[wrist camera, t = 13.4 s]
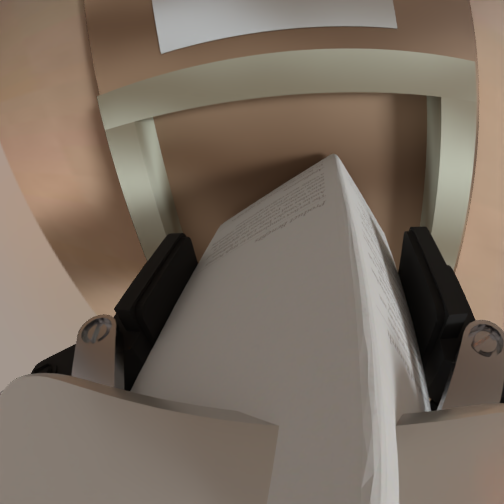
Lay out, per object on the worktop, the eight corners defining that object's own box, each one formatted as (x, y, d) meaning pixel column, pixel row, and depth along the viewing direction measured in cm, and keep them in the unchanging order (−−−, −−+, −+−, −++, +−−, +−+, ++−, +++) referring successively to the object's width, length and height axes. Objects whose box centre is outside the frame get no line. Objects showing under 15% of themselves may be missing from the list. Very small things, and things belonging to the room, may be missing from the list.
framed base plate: (100, -16, 9) (60, -22, 6) (437, -59, 5) (462, -80, 3) (186, 314, 20) (170, 348, 18) (429, 314, 16) (440, 351, 14)
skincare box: (276, 286, 15) (213, 550, 5) (215, 218, 14) (68, 503, 4) (390, 227, 12) (442, 557, 2) (335, 139, 11) (360, 608, 1)
